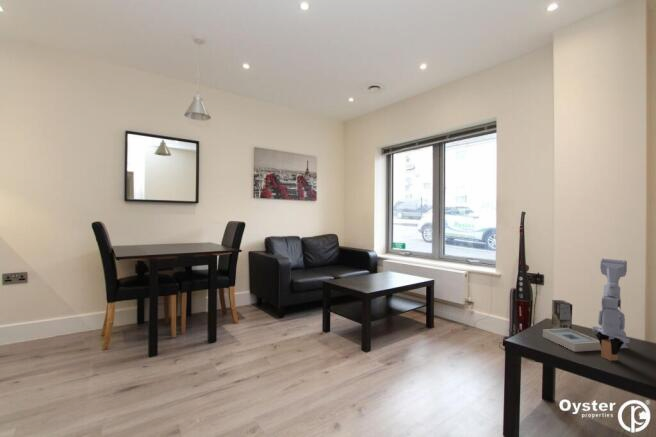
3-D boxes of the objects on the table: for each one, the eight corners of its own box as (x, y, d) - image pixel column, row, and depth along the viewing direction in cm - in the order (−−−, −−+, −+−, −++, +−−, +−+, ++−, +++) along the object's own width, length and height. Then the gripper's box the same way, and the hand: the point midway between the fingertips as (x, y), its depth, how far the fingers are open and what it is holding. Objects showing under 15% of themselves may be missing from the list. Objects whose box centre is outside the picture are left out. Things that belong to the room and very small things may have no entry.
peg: (608, 356, 146) (608, 339, 145) (617, 360, 142) (618, 342, 141) (601, 356, 145) (601, 339, 145) (610, 360, 141) (610, 343, 141)
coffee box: (572, 333, 173) (573, 304, 173) (559, 332, 175) (560, 303, 174) (563, 327, 182) (564, 300, 182) (551, 326, 184) (551, 299, 183)
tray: (568, 335, 170) (568, 328, 170) (602, 349, 152) (602, 341, 152) (542, 336, 167) (543, 329, 167) (574, 351, 150) (574, 343, 149)
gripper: (587, 317, 149) (586, 345, 150) (620, 329, 135) (619, 359, 135) (599, 317, 151) (598, 345, 151) (633, 328, 136) (632, 359, 137)
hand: (609, 352), depth 143 cm, fingers closed on peg, 4 cm apart
